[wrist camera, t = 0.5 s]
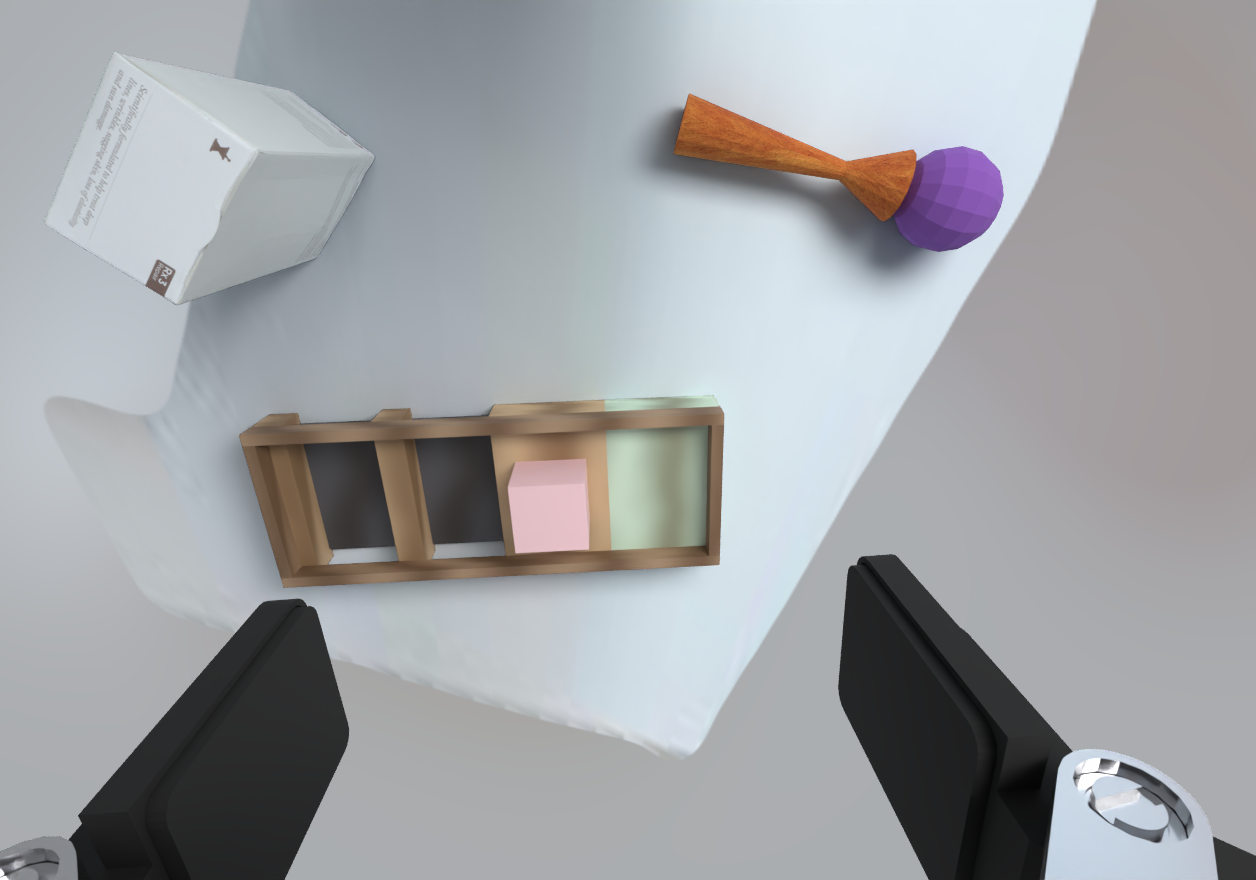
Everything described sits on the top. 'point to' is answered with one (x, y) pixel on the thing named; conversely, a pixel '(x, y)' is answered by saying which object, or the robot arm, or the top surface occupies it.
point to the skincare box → (202, 178)
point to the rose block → (549, 505)
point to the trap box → (488, 487)
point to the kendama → (862, 175)
